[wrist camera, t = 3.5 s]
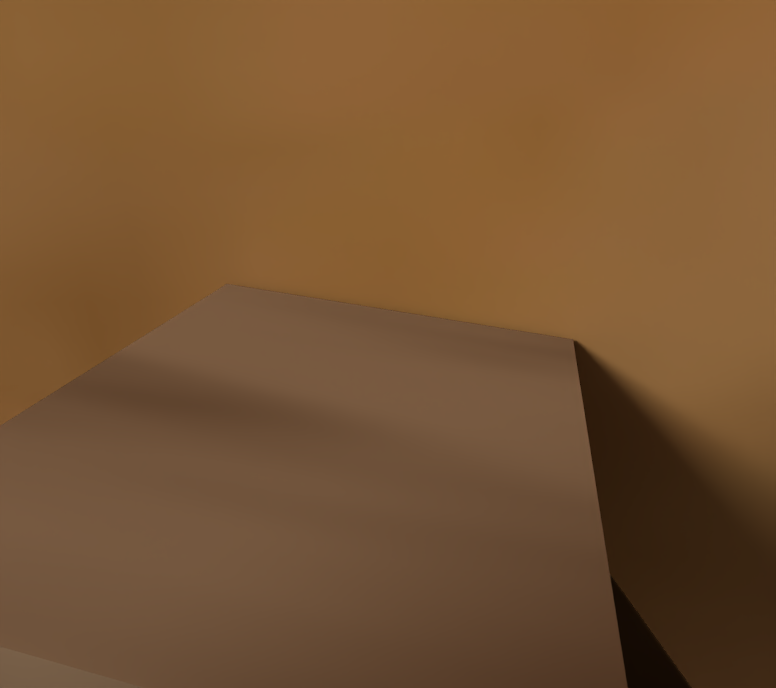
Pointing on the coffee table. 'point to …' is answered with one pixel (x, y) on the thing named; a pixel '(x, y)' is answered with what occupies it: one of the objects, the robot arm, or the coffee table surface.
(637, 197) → the coffee table surface
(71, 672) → the walnut block
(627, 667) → the robot arm
